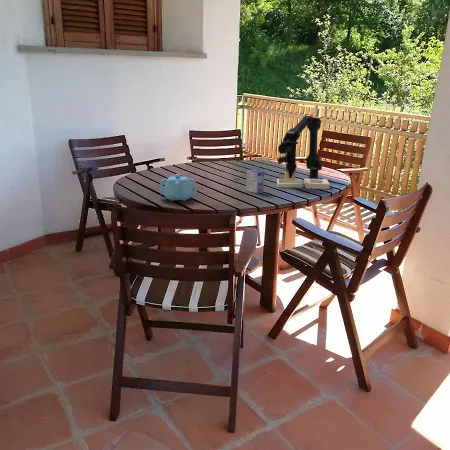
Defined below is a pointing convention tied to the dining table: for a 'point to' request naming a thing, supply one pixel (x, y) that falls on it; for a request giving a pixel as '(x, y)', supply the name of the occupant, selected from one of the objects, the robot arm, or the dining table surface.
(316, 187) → the white square frame
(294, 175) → the block
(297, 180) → the parts tray
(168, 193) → the decorative pot
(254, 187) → the ink cartridge box
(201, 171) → the dining table surface
